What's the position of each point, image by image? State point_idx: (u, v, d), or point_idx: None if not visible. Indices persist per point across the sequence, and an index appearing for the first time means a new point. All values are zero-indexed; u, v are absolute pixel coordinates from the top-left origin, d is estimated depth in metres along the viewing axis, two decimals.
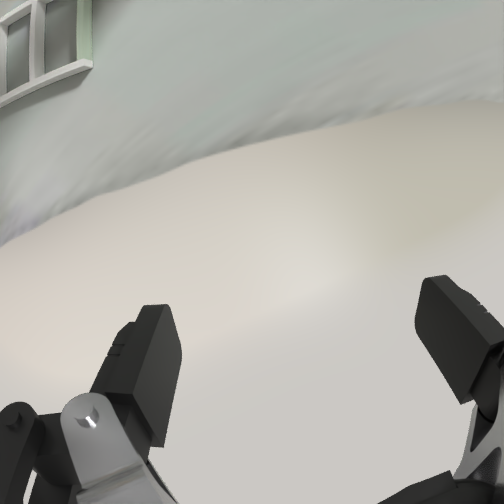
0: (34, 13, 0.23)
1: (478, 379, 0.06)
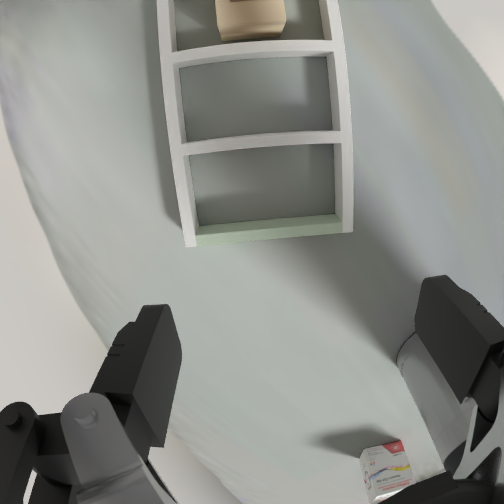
0: (313, 140, 0.24)
1: (478, 379, 0.06)
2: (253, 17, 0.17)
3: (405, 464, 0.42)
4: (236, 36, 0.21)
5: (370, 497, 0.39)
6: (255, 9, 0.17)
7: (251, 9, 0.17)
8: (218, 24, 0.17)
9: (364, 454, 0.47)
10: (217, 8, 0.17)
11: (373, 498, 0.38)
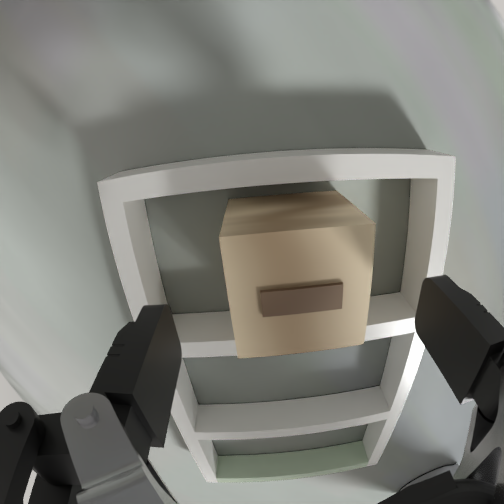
0: (355, 424, 0.17)
1: (478, 379, 0.06)
2: (307, 343, 0.11)
3: None
4: None
5: None
6: (311, 329, 0.11)
7: (303, 328, 0.11)
8: (239, 356, 0.11)
9: None
10: (236, 327, 0.11)
11: None
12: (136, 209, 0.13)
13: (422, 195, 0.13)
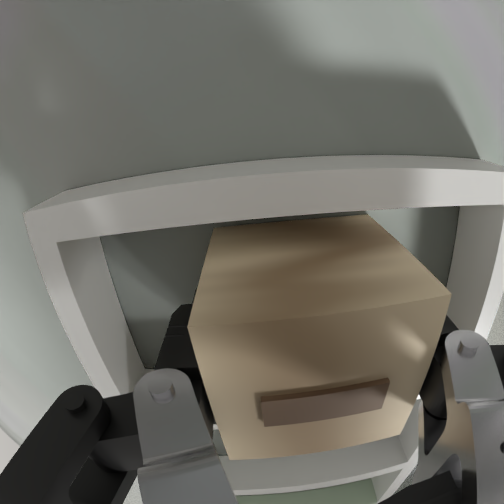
0: (368, 477, 0.13)
1: None
2: (325, 444, 0.07)
3: None
4: None
5: None
6: (334, 431, 0.07)
7: (323, 431, 0.07)
8: (231, 458, 0.07)
9: None
10: (224, 433, 0.07)
11: None
12: (82, 246, 0.09)
13: (478, 223, 0.08)
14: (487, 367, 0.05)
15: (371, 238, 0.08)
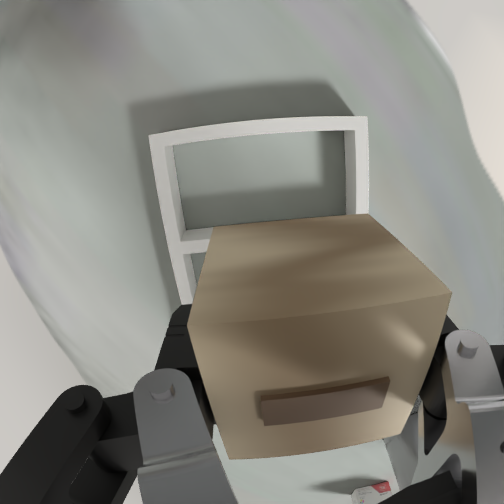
0: None
1: None
2: (326, 443, 0.07)
3: None
4: None
5: None
6: (334, 430, 0.07)
7: (323, 431, 0.07)
8: (231, 457, 0.07)
9: (355, 493, 0.49)
10: (224, 432, 0.07)
11: None
12: (169, 154, 0.21)
13: (349, 143, 0.21)
14: (487, 367, 0.05)
15: (371, 237, 0.08)
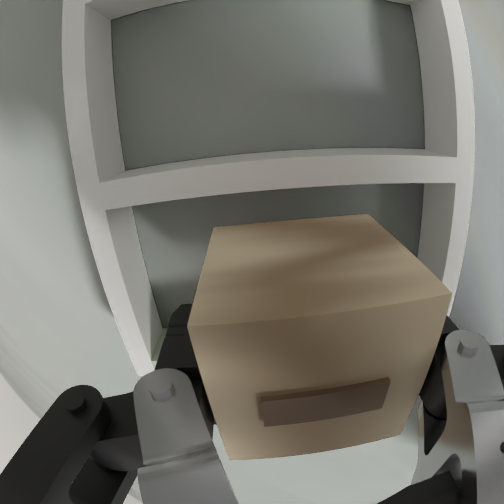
0: (406, 175, 0.10)
1: None
2: (326, 443, 0.07)
3: None
4: None
5: None
6: (334, 431, 0.07)
7: (323, 431, 0.07)
8: (231, 458, 0.07)
9: None
10: (224, 433, 0.07)
11: None
12: None
13: None
14: (487, 367, 0.05)
15: (371, 237, 0.08)
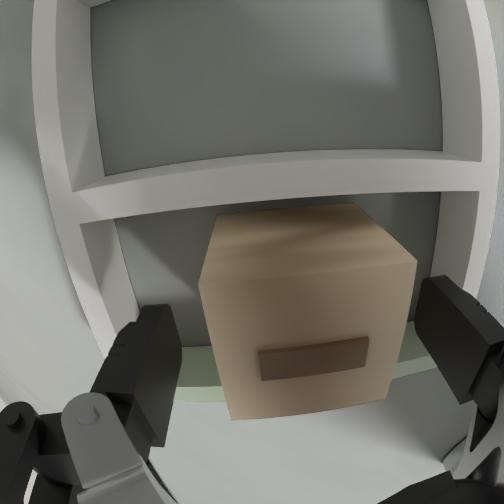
0: (427, 182, 0.08)
1: (478, 379, 0.06)
2: (317, 403, 0.08)
3: None
4: None
5: None
6: (324, 390, 0.08)
7: (314, 389, 0.08)
8: (233, 418, 0.09)
9: None
10: (227, 389, 0.08)
11: None
12: None
13: None
14: None
15: (353, 220, 0.09)
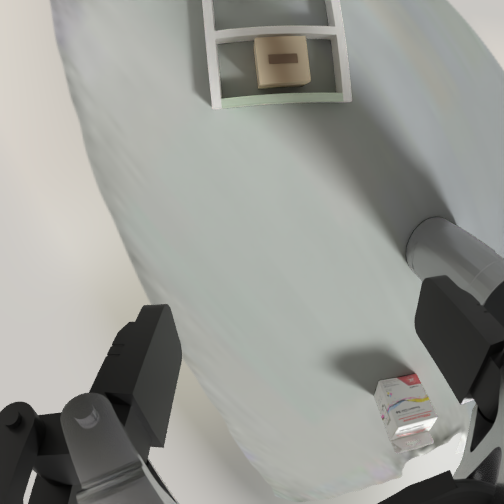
0: (314, 31, 0.26)
1: (478, 379, 0.06)
2: (287, 77, 0.26)
3: (423, 396, 0.44)
4: (269, 86, 0.30)
5: (390, 433, 0.42)
6: (288, 71, 0.26)
7: (285, 70, 0.26)
8: (260, 82, 0.26)
9: (379, 386, 0.49)
10: (259, 68, 0.26)
11: (394, 432, 0.40)
12: None
13: None
14: None
15: None
